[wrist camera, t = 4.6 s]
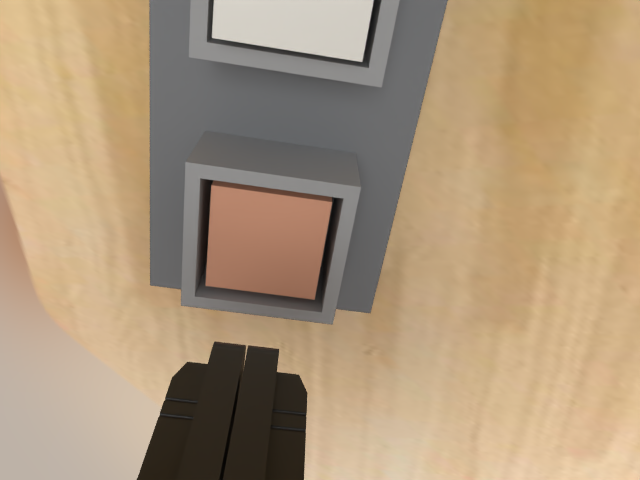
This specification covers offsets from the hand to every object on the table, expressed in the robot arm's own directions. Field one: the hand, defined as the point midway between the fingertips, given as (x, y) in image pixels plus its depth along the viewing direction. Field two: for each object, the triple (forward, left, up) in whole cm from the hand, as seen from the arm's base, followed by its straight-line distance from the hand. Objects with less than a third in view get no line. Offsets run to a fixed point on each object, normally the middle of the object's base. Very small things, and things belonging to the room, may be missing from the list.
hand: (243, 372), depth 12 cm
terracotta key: (+3, 0, -13) cm, 13 cm away
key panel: (-3, 0, -16) cm, 17 cm away
